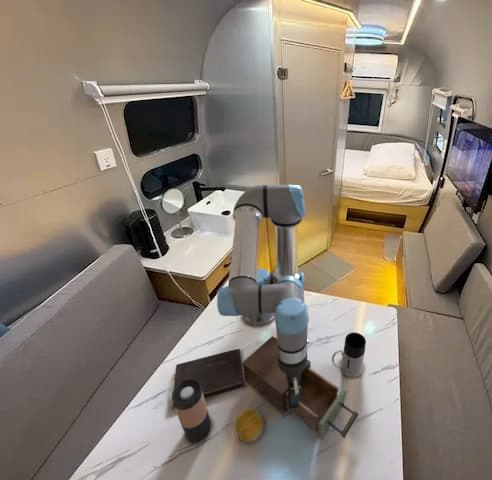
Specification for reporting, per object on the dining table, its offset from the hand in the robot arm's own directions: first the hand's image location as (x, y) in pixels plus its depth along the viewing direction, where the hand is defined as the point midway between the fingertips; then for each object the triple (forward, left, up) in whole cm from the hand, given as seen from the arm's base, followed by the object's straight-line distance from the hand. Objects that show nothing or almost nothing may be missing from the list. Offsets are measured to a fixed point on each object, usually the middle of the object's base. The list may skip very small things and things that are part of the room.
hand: (293, 405), depth 81 cm
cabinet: (-9, -15, -12) cm, 21 cm away
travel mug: (+18, -23, -12) cm, 32 cm away
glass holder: (-28, +3, -12) cm, 30 cm away
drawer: (-9, +4, -11) cm, 15 cm away
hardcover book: (+6, -36, -12) cm, 38 cm away
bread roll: (+8, -11, -12) cm, 19 cm away
